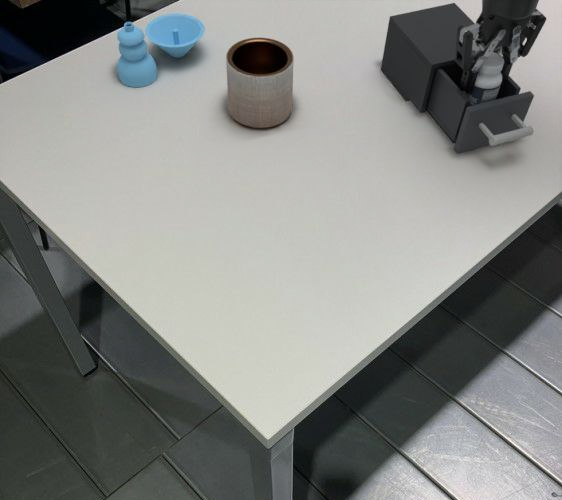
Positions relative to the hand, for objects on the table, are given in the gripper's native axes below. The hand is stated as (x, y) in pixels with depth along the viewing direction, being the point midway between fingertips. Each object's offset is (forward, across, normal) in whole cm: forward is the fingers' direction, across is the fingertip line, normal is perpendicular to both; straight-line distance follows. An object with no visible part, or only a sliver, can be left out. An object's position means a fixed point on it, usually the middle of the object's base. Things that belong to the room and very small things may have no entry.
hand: (482, 85), depth 98 cm
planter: (+8, -31, +17) cm, 36 cm away
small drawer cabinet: (+8, 0, +13) cm, 15 cm away
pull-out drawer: (+7, 0, -1) cm, 7 cm away
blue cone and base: (+8, -43, +36) cm, 56 cm away
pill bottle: (+5, 0, 0) cm, 5 cm away
